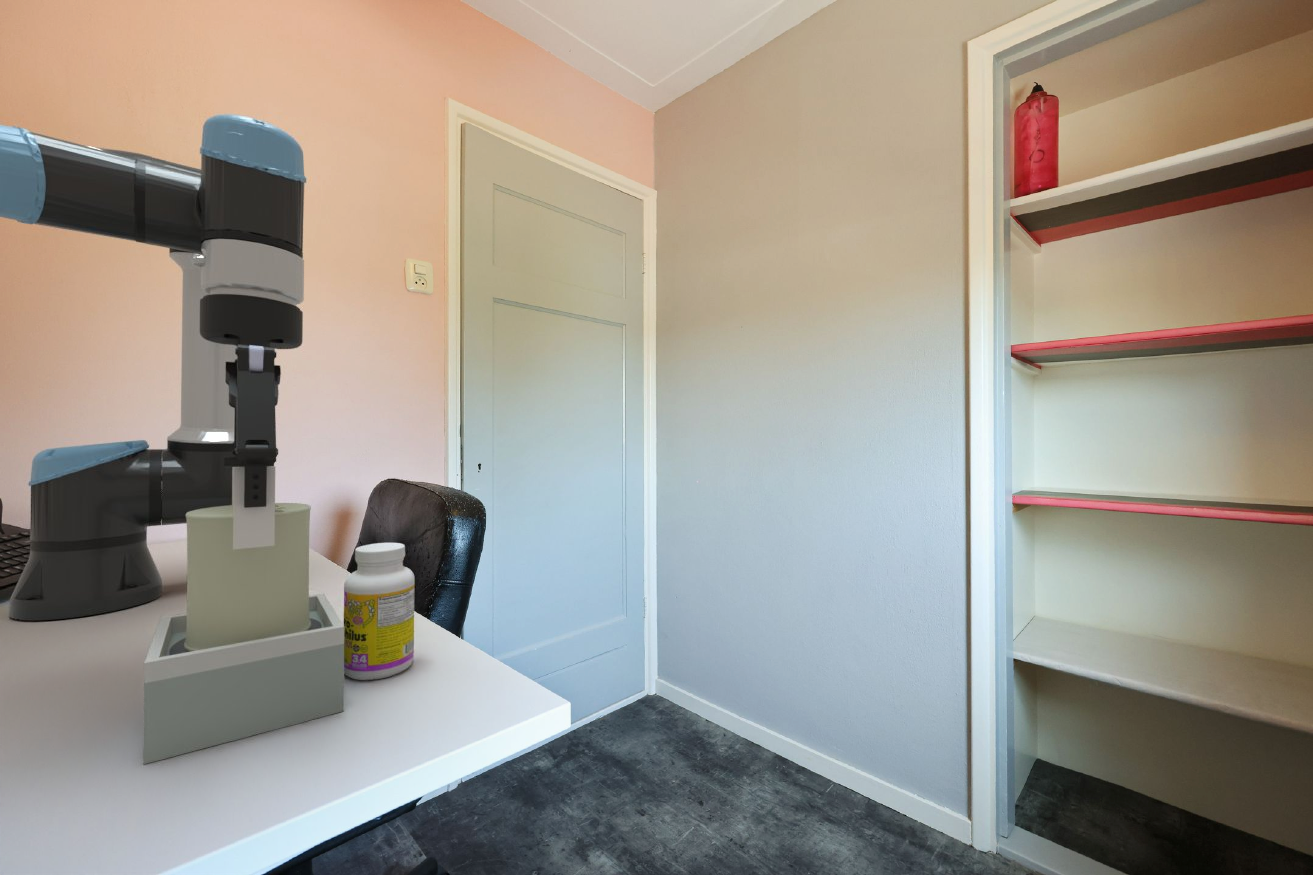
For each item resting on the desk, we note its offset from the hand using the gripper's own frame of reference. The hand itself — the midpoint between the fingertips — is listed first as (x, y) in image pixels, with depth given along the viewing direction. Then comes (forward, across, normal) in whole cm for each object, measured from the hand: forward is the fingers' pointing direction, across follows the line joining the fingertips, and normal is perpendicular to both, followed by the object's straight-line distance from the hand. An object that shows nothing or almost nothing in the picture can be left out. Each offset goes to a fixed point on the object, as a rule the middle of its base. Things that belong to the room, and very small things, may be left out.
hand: (251, 534), depth 50 cm
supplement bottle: (+16, -1, +11) cm, 19 cm away
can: (+9, 0, 0) cm, 9 cm away
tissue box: (+15, 0, 0) cm, 15 cm away
